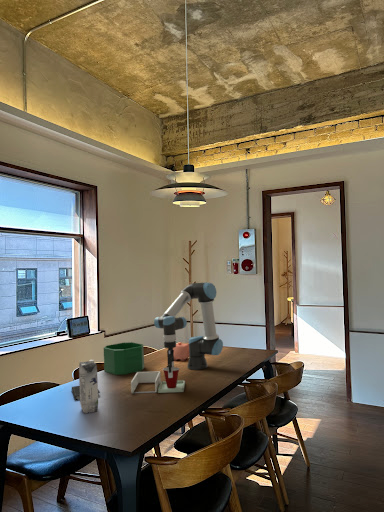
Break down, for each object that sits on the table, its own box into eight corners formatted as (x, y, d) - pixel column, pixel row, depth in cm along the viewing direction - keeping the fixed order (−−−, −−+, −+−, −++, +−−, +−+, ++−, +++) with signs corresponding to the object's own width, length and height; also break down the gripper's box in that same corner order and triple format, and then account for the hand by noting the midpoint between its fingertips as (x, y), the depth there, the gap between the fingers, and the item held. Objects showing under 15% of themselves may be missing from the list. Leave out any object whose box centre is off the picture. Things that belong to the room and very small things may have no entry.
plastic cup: (183, 385, 253) (182, 366, 253) (175, 390, 243) (174, 370, 244) (168, 383, 258) (168, 365, 258) (160, 388, 248) (159, 369, 249)
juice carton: (82, 414, 210) (80, 363, 211) (79, 408, 220) (78, 359, 221) (99, 411, 214) (97, 361, 214) (95, 405, 223) (94, 357, 224)
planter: (118, 376, 285) (117, 350, 286) (101, 370, 305) (100, 346, 305) (148, 369, 302) (147, 345, 303) (129, 363, 322) (129, 341, 322)
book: (71, 391, 254) (71, 386, 255) (95, 387, 260) (95, 383, 260) (74, 401, 234) (74, 396, 234) (100, 397, 240) (100, 392, 240)
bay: (137, 382, 266) (137, 372, 266) (160, 381, 265) (160, 371, 266) (131, 393, 243) (130, 382, 243) (156, 392, 242) (156, 381, 243)
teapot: (196, 358, 331) (195, 341, 331) (191, 361, 319) (190, 344, 319) (171, 357, 338) (170, 340, 338) (165, 361, 326) (165, 343, 326)
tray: (161, 384, 259) (160, 381, 260) (184, 383, 259) (184, 380, 259) (158, 392, 242) (157, 389, 242) (183, 391, 241) (183, 388, 242)
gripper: (165, 337, 264) (167, 369, 263) (162, 345, 239) (163, 380, 238) (177, 337, 264) (178, 369, 263) (174, 344, 239) (175, 380, 238)
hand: (171, 374), depth 251 cm, fingers open, 13 cm apart
